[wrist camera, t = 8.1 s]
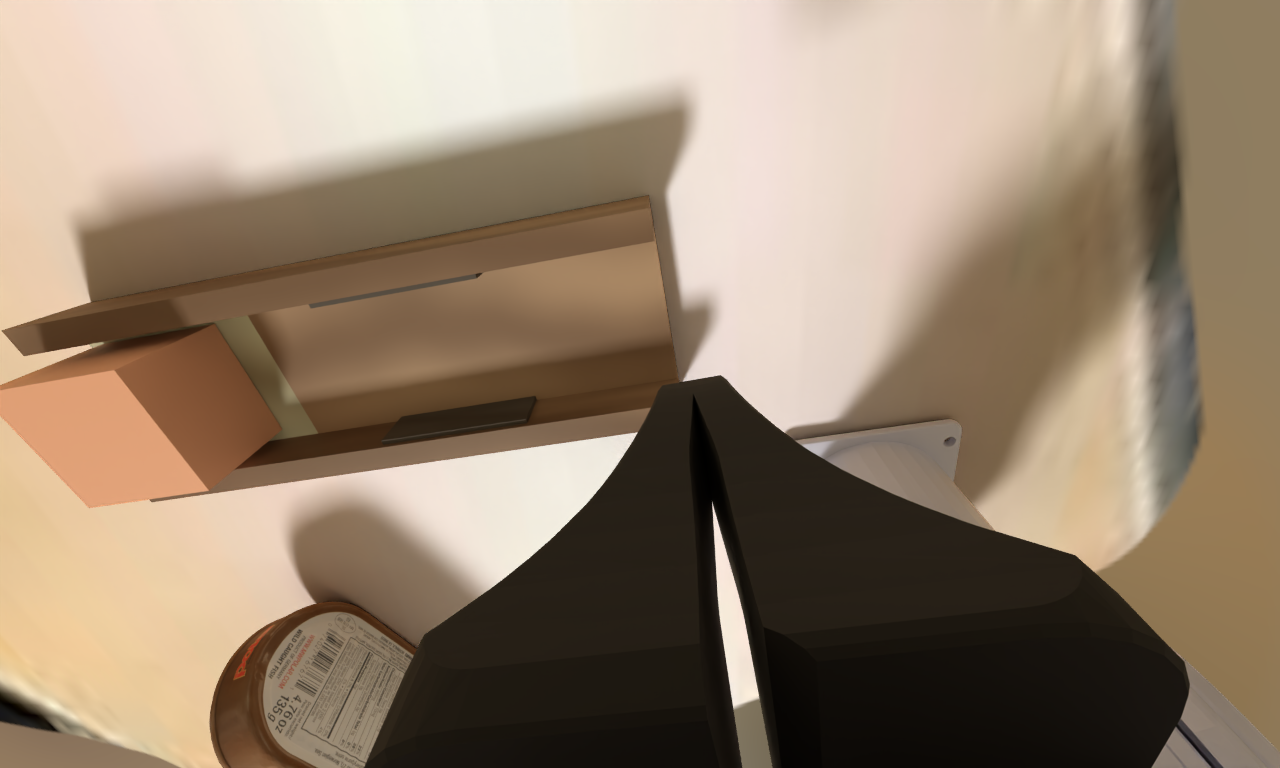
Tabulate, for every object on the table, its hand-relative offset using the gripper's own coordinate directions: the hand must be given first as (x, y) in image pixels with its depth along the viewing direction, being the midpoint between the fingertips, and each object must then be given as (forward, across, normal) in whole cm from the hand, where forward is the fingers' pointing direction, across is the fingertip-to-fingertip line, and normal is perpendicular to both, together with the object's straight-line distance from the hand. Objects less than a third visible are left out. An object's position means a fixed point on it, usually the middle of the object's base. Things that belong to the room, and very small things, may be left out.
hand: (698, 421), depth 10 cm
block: (+9, +20, 0) cm, 22 cm away
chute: (+10, +12, 0) cm, 15 cm away
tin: (+10, +21, +20) cm, 30 cm away
